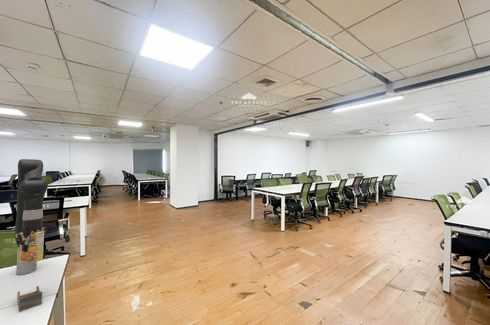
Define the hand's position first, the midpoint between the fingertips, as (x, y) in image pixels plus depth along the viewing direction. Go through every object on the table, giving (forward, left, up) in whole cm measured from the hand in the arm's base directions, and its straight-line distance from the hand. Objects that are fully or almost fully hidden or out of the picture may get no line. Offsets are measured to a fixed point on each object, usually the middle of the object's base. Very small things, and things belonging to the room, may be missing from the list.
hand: (31, 249), depth 111 cm
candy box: (0, 0, -6) cm, 6 cm away
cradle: (+3, 0, -26) cm, 26 cm away
